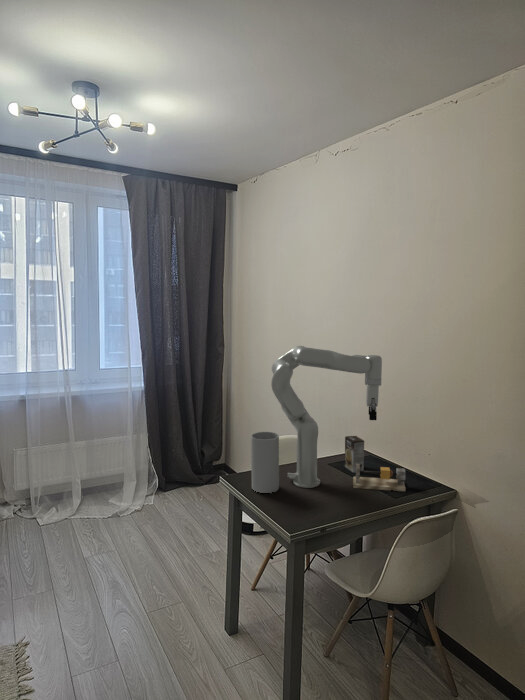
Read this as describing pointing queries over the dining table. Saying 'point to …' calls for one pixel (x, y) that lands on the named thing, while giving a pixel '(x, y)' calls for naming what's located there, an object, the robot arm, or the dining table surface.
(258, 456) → the cylinder vase
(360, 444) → the coffee box
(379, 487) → the cord rig
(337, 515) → the dining table surface
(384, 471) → the sleeve
